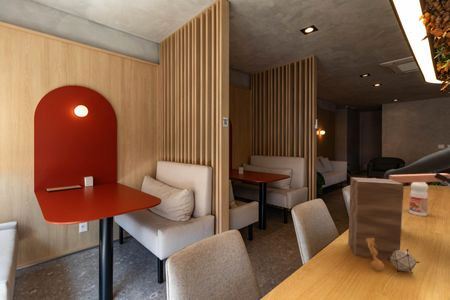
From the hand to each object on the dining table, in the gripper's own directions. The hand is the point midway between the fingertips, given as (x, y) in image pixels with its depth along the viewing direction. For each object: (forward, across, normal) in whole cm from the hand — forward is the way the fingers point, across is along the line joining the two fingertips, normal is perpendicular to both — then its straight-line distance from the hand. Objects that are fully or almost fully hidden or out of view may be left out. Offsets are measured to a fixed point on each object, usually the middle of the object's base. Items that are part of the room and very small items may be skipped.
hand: (433, 174), depth 100 cm
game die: (+4, +22, +40) cm, 46 cm away
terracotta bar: (+3, 0, +5) cm, 6 cm away
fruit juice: (-40, -60, +21) cm, 75 cm away
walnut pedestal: (+9, +9, +42) cm, 44 cm away
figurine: (+14, +24, +44) cm, 52 cm away
